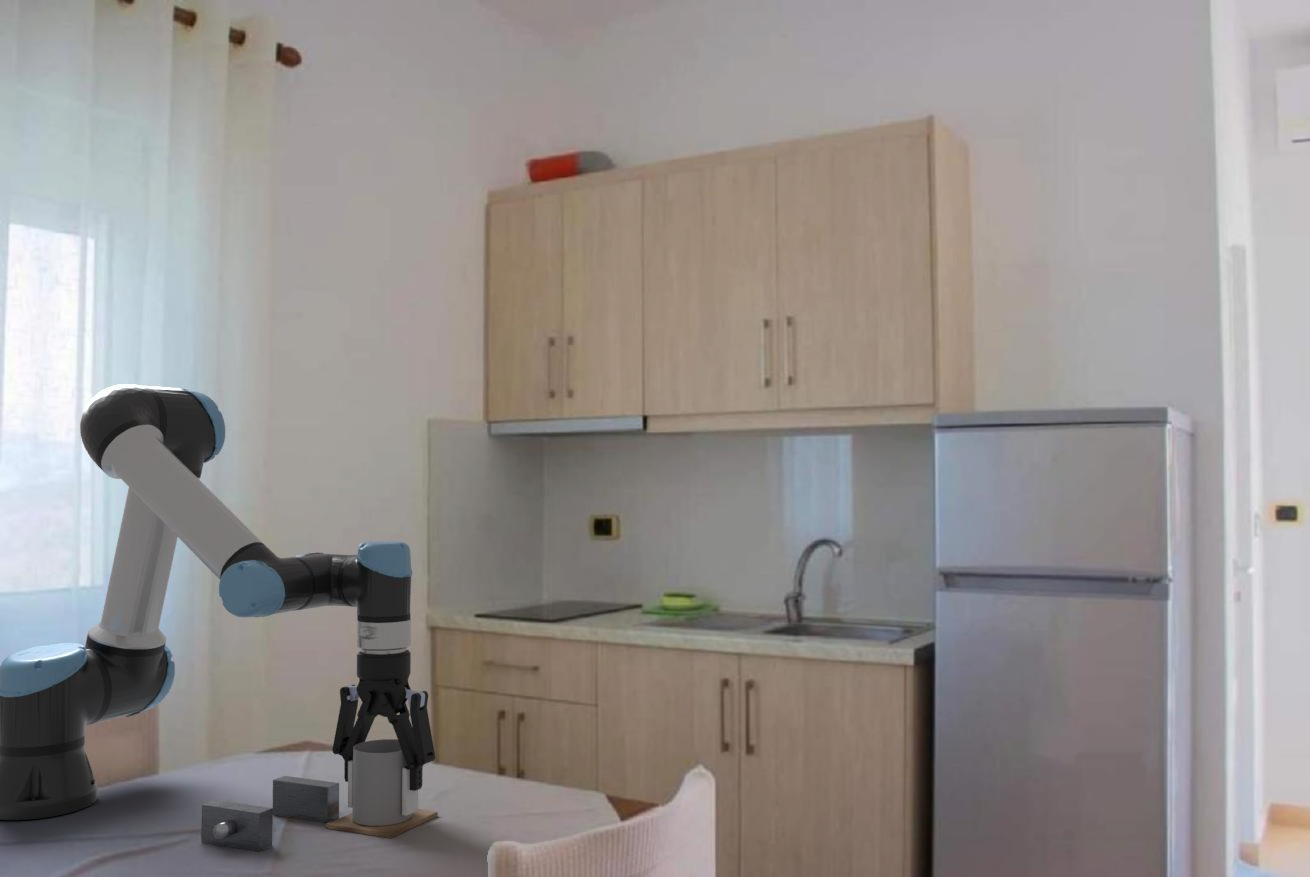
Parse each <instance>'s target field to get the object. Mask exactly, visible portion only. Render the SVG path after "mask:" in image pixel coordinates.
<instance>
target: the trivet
mask: <svg viewBox="0 0 1310 877" xmlns="http://www.w3.org/2000/svg"><path fill="white" fill-rule="evenodd" d="M438 814H439V813H438V811H437V810H436V811H435V810H428V809H421V808H418V811H416V812H414V813H412V817H411V818H410V819H408V820H407V821H404V822H401V823H397V824H392V825H384V826H367V825H361V824H357V823H356V822H354V821H352V812H351V813H349V814H346V815H343V816H341V817H339V818H338V819H335V820H333V821H331V822H328V823H325V824H326V825H325V827H326V829H329V830H335V831H336V830H337V831H343V832H347V833H348V832H349V833H357V834H360V835H361V834H362V835H369V836H375V837H382V838H387V839H392V838H395V837H397V836H398V835H401V834H402V833H404V832H407V831H408V830H411V829H413V828H415V827H417V826H420V825H422V824H423V823H426V822H427V821H429V820H432V819H434V818H436V817H438Z"/></svg>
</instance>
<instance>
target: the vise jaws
mask: <svg viewBox="0 0 1310 877" xmlns="http://www.w3.org/2000/svg"><path fill="white" fill-rule="evenodd" d="M274 816H281V817H286V818H292V819H300V820H306V821H313V822H320V823H325V824H327V823H330V822H332V821H334V820H337V819H339V818H340V783H339V782H334V781H326V780H319V779H311V778H306V777H305V778H303V777H298V776H297V777H296V776H290V775H284V776H280V777H277V778H275V779H273V780H272V807H267V806H260V805H254V804H247V803H242V802H241V803H240V802H234V801H227V800H221V799H214V800H211V801H209V802H206V803H203V804H201V832H200V833H201V835H200V836H201V841H200V842H201V843H204V844H211V845H216V846H223V847H228V848H236V849H239V850H246V851H251V852H258V853H260V852H261V851H264V850H267V849H268V848H269V849H270V848H271V847H273V827H274V824H273V822H274V820H273V818H274Z"/></svg>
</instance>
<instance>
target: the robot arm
mask: <svg viewBox="0 0 1310 877" xmlns="http://www.w3.org/2000/svg"><path fill="white" fill-rule="evenodd" d="M79 425H80V426H79V427H80V428H79V429H80V430H79V431H80V437H81V441H82V442H81V443H82V444H83V447H84V448H85V451H86V452H87V454H88V455H89V457H90V459H92V461H93V462H94V464H96V466H97V467H99V469H100V470H101V471H102V472H103V473H104V474H105V475H106V476H107V477H109V478H111V479H116V480H120V479H121V481H122V482H123V483H124V484H126V486H127V487H128V488H127V490H128V491H127V495H126V500H125V504H124V509H123V514H122V518H121V523H120V528H119V533H118V537H117V542H116V548H115V551H114V552H115V553H114V558H113V562H112V565H111V566H112V567H111V572H110V577H109V581H108V585H107V591H106V596H105V600H104V606H103V609H102V610H103V611H102V615H101V620H100V621H98V623H97V624H95V625H94V626H92V627H90V628H89V629H88V631H87V636H86V640H85V645H83V644H81V643H77V642H58V643H52V644H48V645H39V646H33V647H29V648H26V649H22V650H19V651H17V652H14V653H12V654H10V655H9V656H7V657H5V659H4V660H3V661H2V662H1V664H0V821H26V820H34V819H35V820H36V819H44V818H50V817H51V818H52V817H56V816H60V815H66V814H70V813H73V812H77V811H80V810H83V809H85V808H88V807H89V806H91V805H93V804H94V803H96V801H97V800H98V796H97V795H98V784H97V781H96V779H95V776H94V773H93V772H94V771H93V769H92V767H91V764H90V761H89V758H88V755H87V753H86V744H85V743H86V741H85V739H86V726H90V725H95V724H98V723H102V722H107V721H112V720H115V719H119V718H123V717H132V716H135V715H138V714H140V713H142V712H146V711H148V710H151V709H154V708H155V707H157V706H158V705H159V704H161V702H162V701H164V699H165V698H166V697H167V696H168V694H169V693H170V691H171V689H172V686H173V684H174V680H175V675H176V666H175V665H176V664H175V661H174V660H173V661H172V658H173V654H172V651H171V649H170V648H169V647H168V646H167V645H166V642H167V638H166V635H164V633H163V632H162V630H161V629H160V628H159V627H160V622H161V617H162V613H163V607H164V604H165V600H166V599H165V598H166V593H167V589H168V584H169V580H170V575H171V570H172V566H173V565H172V564H173V561H174V557H175V552H176V546H177V541H178V540H180V541H181V542H182V543H183V544H184V545H185V546H186V547H187V548H188V549H189V550H190V551H191V552H192V553H193V554H194V555H195V556H196V558H198V559H199V560H200V561H201V562H202V563H203V564H204V565H205V566H206V567H207V568H208V569H209V570H210V572H212V574H214V576H215V577H217V578H218V579H219V583H218V593H219V597H220V598H221V601H222V606H223V607H224V608H225V610H226V611H227V612H229V614H231V615H233V616H235V617H238V618H264V617H269V616H272V615H276V614H281V613H287V612H292V611H293V612H294V611H302V610H309V609H313V608H314V609H315V608H319V607H321V608H322V607H329V606H331V607H333V606H335V607H351V608H352V607H353V608H356V620H357V627H356V628H357V629H356V634H357V635H356V636H357V637H356V638H357V640H356V644H357V645H356V647H357V648H358V649H359V650H360V651H358V653H357V654H356V677H357V678H358V680H359V681H358V684H357V685H356V684H354V683H353V684H350V685H346V686H342V687H340V689H339V696H340V706H339V713H338V716H337V717H338V718H337V723H336V729H335V734H334V740H333V745H332V750H331V751H332V753H333V754H334V755H338V756H340V757H342V759H343V761H344V774H343V775H344V780H345V781H344V782H347V807H348V808H351V809H353V747H354V746H355V745H357V744H359V743H362V742H366V741H367V738H368V735H369V733H370V730H371V728H372V725H373V723H374V720H375V718H376V717H378V716H380V717H383V718H387V721H388V723H390V724H391V725H392V728H393V730H394V734H395V735H396V738H397V739H398V741H399V744H400V746H401V749H402V752H403V754H404V757H405V760H406V762H407V766H405V767H404V768H402V815H405V816H407V815H409V814H411V813H414V812H416V811H418V809H419V790H421V789H422V787H423V767H424V765H426V764H428V763H430V762H434V761H435V759H436V754H435V747H434V740H433V736H432V730H431V725H430V718H429V713H428V700H429V693H428V692H427V691H426V690H423V691H417V690H413V689H412V688H411V686H410V683H409V678H410V674H411V661H412V660H411V659H412V658H411V657H412V656H411V655H412V654H411V651H410V650H409V649H408V648H409V647H410V646H411V645H412V619H411V616H412V615H411V593H412V592H411V591H412V576H413V569H412V564H411V563H412V562H411V561H412V559H411V549H410V546H409V544H407V543H406V542H404V541H396V540H394V541H393V540H391V541H384V540H381V541H364V542H361V543H360V544H359V545H358V548H357V553H356V554H353V555H352V554H335V553H324V552H318V551H317V552H309V553H300V554H297V555H295V557H293V556H292V557H279V556H277V554H275V553H274V552H273V551H272V549H270V548H269V547H267V546H268V545H266V544H264V543H263V542H262V540H261V539H260V538H258V536H257V535H256V534H255V533H254V532H253V531H252V530H251V529H249V528H248V527H247V525H246V524H244V523H243V521H241V519H240V518H239V517H238V516H236V515H235V513H234V512H233V511H231V509H229V508H228V507H227V506H226V504H225V503H223V501H222V500H220V499H219V498H218V496H217V495H215V494H214V493H213V492H212V491H211V490H210V489H209V487H207V486H206V485H205V484H204V483H203V482H202V481H201V480H200V479H201V476H202V472H203V467H204V464H206V463H208V462H210V461H212V460H213V459H214V458H215V457H216V456H218V455H219V454H220V453H221V451H222V449H223V446H224V444H225V440H226V423H225V419H224V416H223V413H222V412H221V411H220V409H219V407H218V405H217V403H216V402H215V401H214V400H213V399H212V398H210V396H208V395H207V394H205V393H202V392H201V391H200V392H199V391H194V390H190V389H186V388H181V387H168V386H167V387H164V386H163V387H162V386H148V385H138V384H128V383H126V384H116V385H113V386H110V387H107V388H105V389H103V390H101V391H99V392H98V393H97V394H96V395H95V396H93V397H92V398H91V400H90V401H88V403H87V404H86V406H85V407H84V410H83V412H82V414H81V419H80V424H79ZM359 699H360V701H361V704H360V707H359V709H358V705H359ZM407 701H408V702H407ZM406 703H407V704H406ZM408 706H409V709H408ZM357 711H358V712H357ZM356 717H357V719H356ZM410 720H411V721H410Z"/></svg>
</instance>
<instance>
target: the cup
mask: <svg viewBox="0 0 1310 877" xmlns="http://www.w3.org/2000/svg"><path fill="white" fill-rule="evenodd" d="M405 766H407V762H406V760H405V757H404V754H403V752H402V749H401V746H400V744H399V741H398V738H397V739H395V738H394V739H393V738H390V739H387V738H385V739H382V738H381V739H373V740H365V742H362V743H359V744H357V745H355V746H354V747H353V808H352V812H351V813H352V821H354V822H356V823H357V824H361V825H367V826H384V825H392V824H397V823H401V822H404V821H407V820H408V819H410V818H411V817H412V813H411V814H409V815H407V816H405V815H402V768H404V767H405Z"/></svg>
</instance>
